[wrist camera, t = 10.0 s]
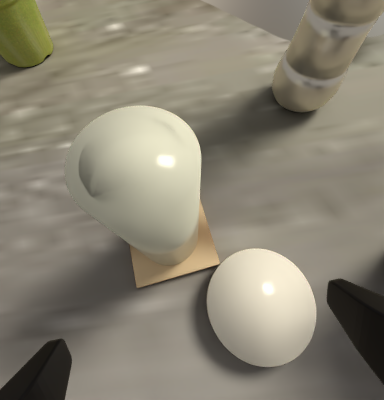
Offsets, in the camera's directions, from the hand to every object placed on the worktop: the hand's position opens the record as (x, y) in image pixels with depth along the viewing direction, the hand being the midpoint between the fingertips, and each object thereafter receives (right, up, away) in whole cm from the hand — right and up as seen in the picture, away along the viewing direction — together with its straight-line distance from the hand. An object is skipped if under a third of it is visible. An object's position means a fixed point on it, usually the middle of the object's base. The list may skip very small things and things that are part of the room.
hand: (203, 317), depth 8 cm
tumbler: (-2, +1, +12) cm, 13 cm away
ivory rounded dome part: (+5, -4, +11) cm, 13 cm away
